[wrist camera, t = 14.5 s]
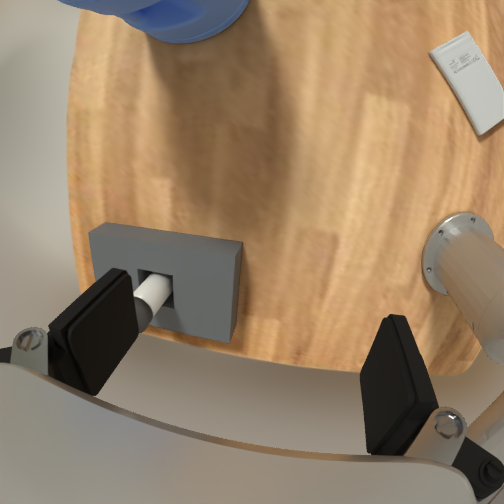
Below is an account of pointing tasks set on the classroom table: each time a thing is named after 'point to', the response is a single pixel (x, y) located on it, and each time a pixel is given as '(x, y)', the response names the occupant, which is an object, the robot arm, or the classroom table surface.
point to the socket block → (177, 275)
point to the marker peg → (151, 297)
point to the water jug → (170, 16)
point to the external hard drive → (471, 81)
